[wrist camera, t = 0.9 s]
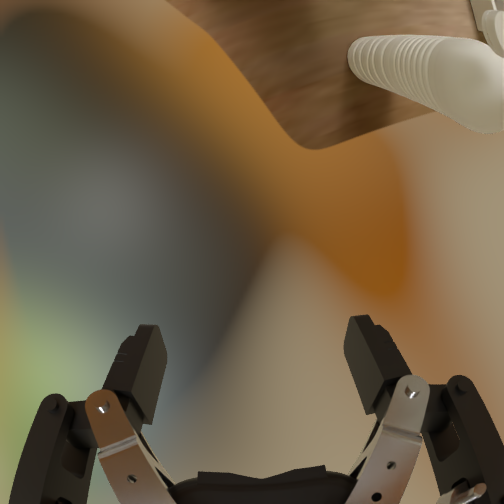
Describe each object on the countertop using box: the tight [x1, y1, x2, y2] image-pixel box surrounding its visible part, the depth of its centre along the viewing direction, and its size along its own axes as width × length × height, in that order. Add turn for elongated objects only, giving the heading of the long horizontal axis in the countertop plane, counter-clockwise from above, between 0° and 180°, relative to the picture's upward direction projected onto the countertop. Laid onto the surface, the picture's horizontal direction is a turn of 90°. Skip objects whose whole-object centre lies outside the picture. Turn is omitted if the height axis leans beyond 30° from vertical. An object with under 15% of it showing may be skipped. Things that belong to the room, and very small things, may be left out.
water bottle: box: [347, 10, 504, 134], centre depth 14 cm, size 9×6×25 cm
